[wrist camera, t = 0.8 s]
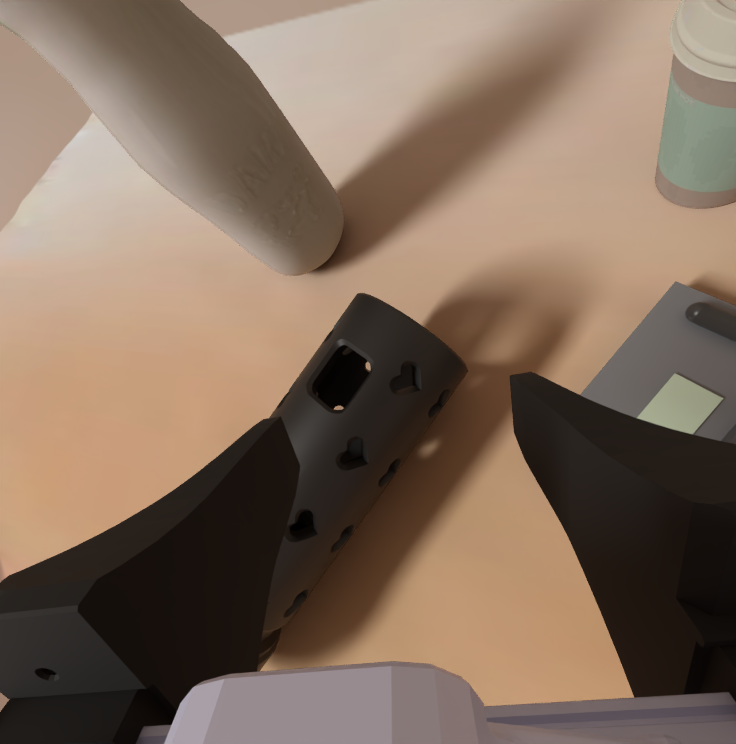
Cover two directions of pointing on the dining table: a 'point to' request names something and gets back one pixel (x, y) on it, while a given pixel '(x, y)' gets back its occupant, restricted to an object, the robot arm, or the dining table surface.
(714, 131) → the coffee cup
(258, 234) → the grey bottle
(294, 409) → the muzzle brake
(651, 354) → the breaker panel
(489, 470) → the dining table surface
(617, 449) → the robot arm
